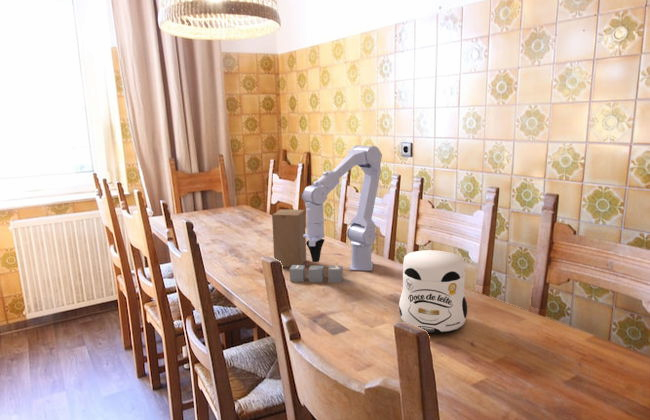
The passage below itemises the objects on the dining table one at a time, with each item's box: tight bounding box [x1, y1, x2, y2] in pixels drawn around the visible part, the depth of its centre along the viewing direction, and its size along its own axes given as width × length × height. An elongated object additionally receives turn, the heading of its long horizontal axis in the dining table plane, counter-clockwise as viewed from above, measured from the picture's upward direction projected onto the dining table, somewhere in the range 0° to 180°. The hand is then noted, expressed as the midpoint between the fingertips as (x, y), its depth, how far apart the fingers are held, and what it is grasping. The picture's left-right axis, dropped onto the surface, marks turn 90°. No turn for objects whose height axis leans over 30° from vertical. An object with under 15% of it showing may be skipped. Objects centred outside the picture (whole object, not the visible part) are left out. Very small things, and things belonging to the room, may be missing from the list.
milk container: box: [398, 249, 468, 334], centre depth 119 cm, size 17×17×18 cm
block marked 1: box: [289, 264, 306, 283], centre depth 156 cm, size 4×4×5 cm
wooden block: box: [271, 209, 307, 268], centre depth 172 cm, size 10×10×20 cm
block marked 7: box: [327, 265, 344, 284], centre depth 154 cm, size 4×4×5 cm
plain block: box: [308, 264, 325, 283], centre depth 155 cm, size 4×4×4 cm
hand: (315, 261), depth 154 cm, fingers closed
